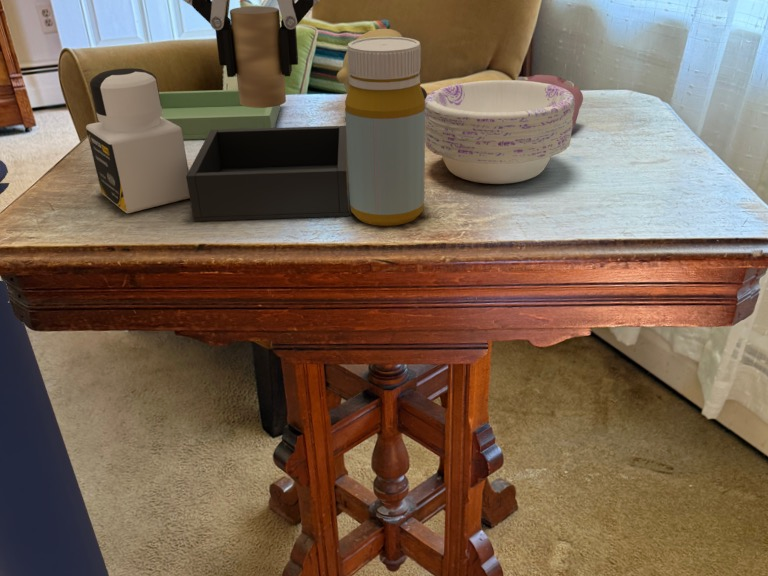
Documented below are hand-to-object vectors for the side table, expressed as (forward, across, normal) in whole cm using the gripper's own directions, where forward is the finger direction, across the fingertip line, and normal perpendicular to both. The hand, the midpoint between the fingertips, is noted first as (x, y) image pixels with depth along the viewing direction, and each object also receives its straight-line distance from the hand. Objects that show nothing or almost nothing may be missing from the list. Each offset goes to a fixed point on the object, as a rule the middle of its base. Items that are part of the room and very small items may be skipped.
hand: (260, 71), depth 71 cm
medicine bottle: (+12, +13, 0) cm, 17 cm away
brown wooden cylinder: (+3, 0, 0) cm, 3 cm away
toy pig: (+12, -13, -27) cm, 32 cm away
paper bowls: (+11, -24, -4) cm, 27 cm away
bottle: (+12, -12, +7) cm, 18 cm away
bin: (+12, -1, 0) cm, 12 cm away
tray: (+12, +10, -26) cm, 30 cm away
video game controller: (+11, -32, -20) cm, 39 cm away
